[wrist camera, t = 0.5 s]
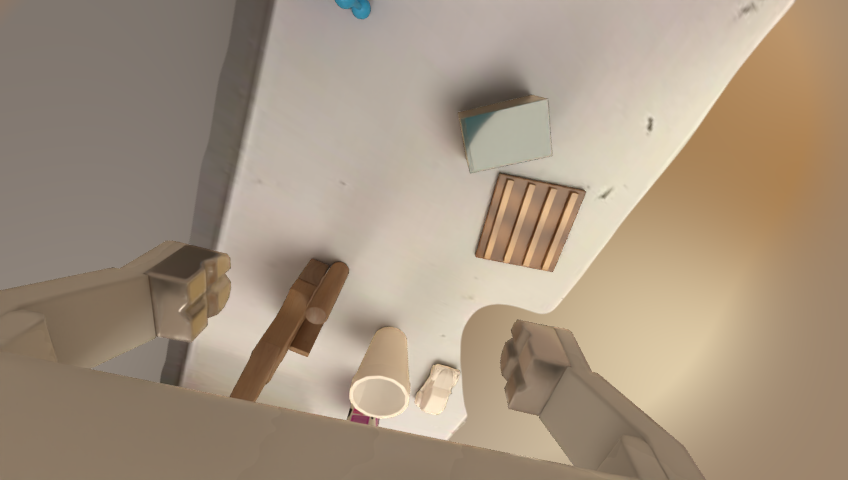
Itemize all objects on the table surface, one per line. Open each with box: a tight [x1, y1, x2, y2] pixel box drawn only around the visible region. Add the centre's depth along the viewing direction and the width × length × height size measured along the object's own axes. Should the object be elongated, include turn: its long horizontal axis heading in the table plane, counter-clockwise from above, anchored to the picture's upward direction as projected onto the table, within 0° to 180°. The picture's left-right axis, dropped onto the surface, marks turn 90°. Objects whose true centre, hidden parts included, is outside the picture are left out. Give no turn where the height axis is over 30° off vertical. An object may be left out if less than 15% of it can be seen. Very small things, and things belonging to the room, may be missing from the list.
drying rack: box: [475, 173, 586, 272], centre depth 54 cm, size 14×13×1 cm
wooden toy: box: [230, 258, 349, 402], centre depth 51 cm, size 16×7×25 cm, turn 154°
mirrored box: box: [458, 95, 552, 173], centre depth 45 cm, size 10×7×8 cm, turn 103°
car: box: [414, 364, 460, 415], centre depth 68 cm, size 12×6×5 cm, turn 160°
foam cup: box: [349, 327, 410, 418], centre depth 60 cm, size 10×9×13 cm
